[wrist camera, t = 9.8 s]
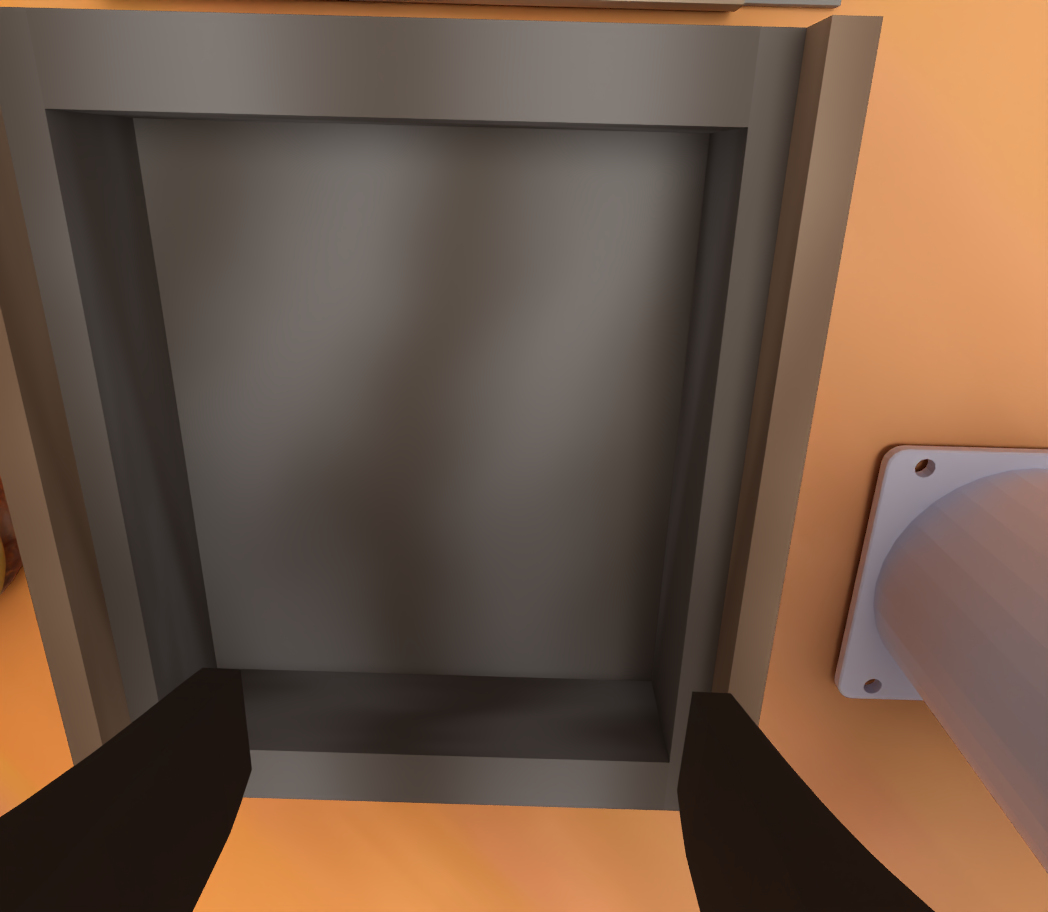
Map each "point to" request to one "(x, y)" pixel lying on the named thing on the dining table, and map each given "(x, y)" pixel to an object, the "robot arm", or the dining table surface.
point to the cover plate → (605, 3)
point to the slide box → (417, 378)
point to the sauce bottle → (7, 545)
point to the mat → (794, 3)
